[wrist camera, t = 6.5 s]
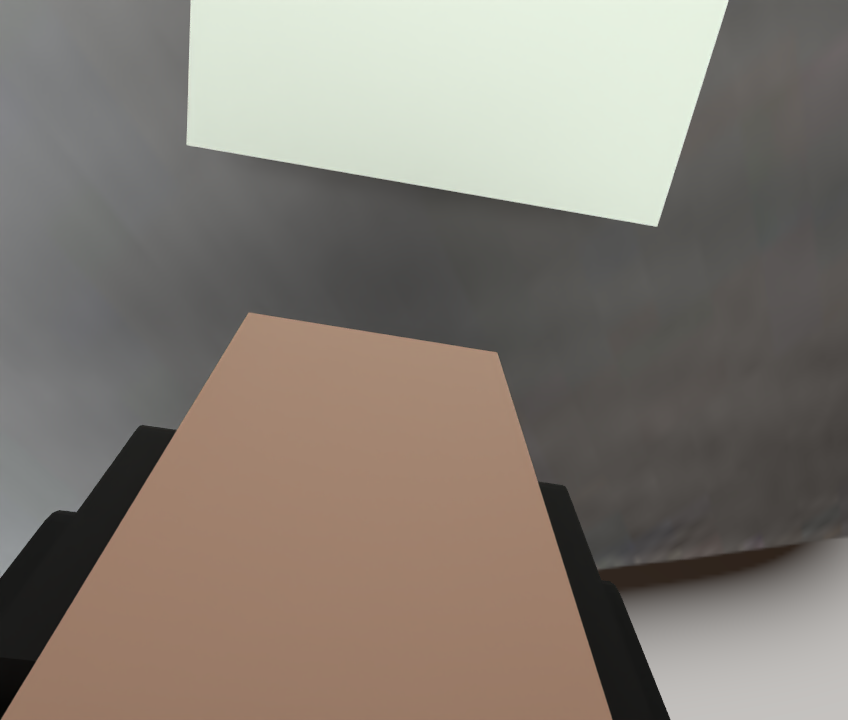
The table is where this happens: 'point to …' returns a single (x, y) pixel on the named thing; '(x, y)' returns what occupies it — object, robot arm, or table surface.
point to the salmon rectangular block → (329, 552)
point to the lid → (460, 92)
